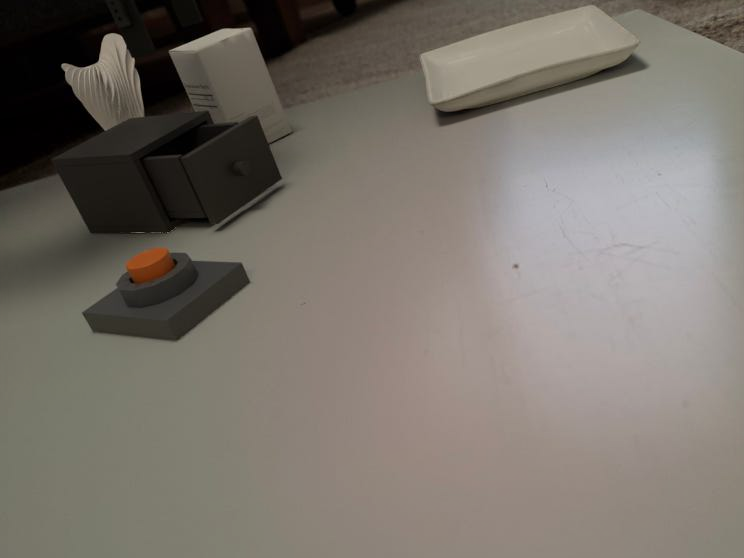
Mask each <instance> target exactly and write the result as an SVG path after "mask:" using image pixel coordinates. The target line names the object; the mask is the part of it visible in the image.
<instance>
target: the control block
mask: <svg viewBox="0 0 744 558" xmlns="http://www.w3.org/2000/svg"><path fill="white" fill-rule="evenodd" d="M169 253H170V255H171V257H172V259H173V261H174V263H175V268H174V269H172V270H171V271H170V272H168V273H167V274H166V275H164V276H161V277H159V278H157V279H155V280H152V281H149V282H145V283H141V284H136V283H134V282H133V280H132V278H131V276H130V274H129V273H128V271H127V270H126V272H124V273H122V274H121V276H120V277H119V278H118V280H117V281H116V283H115V285H116V288H114V289H113V290H112V291H111V292H108V294H106V295H104V297H102V298H101V299H99V300H97V301H96V302H95V303H93V304H92V305H91V306H89V307H88V308H86V309H84V310H83V311H82V312H81V314H82V316H83V317H84V319H85V321H86V323H87V324H88V326H89V328H90V330H91V332H92V333H101V334H111V335H120V336H121V335H122V336H130V337H138V338H139V337H140V338H147V339H148V338H149V339H158V340H167V341H179V340H180V339H181V338H182V337H183V336H185V335H186V334H187V333H189V332H190V331H191V330H192V329H194V328H195V327H196V326H197V325H199V324H200V323H201V322H202V321H203V320H205V319H206V318H208V317H209V315H211V314H212V313H213V312H215V311H216V310H217V309H218V308H220V307H221V306H222V305H224V304H225V303H226V302H228V301H229V300H230V299H231V298H233V296H234V295H236V294H237V293H238V292H240V291H241V290H243V288H245V287H246V286H247V285H248V284H250V283H251V280H250V278H249V276H248V274H247V271H246V269H245V267H244V265H243V262H242V261H241V262H237V261H215V260H213V261H212V260H211V261H210V260H208V261H207V260H192V258H191V257H190V256H189V255H188V254H187V253H186V252H169Z"/></svg>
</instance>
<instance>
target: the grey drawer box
mask: <svg viewBox="0 0 744 558" xmlns="http://www.w3.org/2000/svg"><path fill="white" fill-rule="evenodd" d="M206 124H214V122H213V120H212V118H211V115H210V113H209V111H198V112H195V111H190V112H180V113H179V112H178V113H170V114H169V113H168V114H157V115H150V116H149V115H148V116H147V115H146V116H145V117H137V118H129V119H127V120H125V121H124V122H122V123H120V124H118V125H116V126H114V127H112V128H110V129H108V130H106V131H105V130H104V131H102V132H101V133H99V134H97V135H95V136H93V137H91V138H89V139H87V140H85V141H83V142H81V143H79V144H78V145H76V146H74V147H72V148H70V149H68V150H66V151H64V152H62V153H60V154H59V155H57V156H55V157H53V158H51V159H50V162H51V163H52V165H53V167H54V169H55V171H56V173H57V174H58V176H59V178H60V180H61V182H62V183H63V185H64V187H65V189H66V191H67V192H68V194H69V197H70V198H71V201H73V203H74V205H75V207H76V209H77V211H78V213H79V215H80V216H81V218H82V220H83V222H84V223H85V225H86V227H87V229H88V231H89V233H90V234H115V233H114V232H161V233H160V234H168V233H167V232H170V231H171V230H173V229H174V228H175V227H177V226H179V225H180V226H182V225H183V224H185V223H186V222H188V221H190V220H191V219H192V218H168V217H167V215H166V213H165V211H164V209H163V206H162V204H161V202H160V200H159V198H158V196H157V194H156V192H155V190H154V188H153V186H152V184H151V182H150V180H149V178H148V176H147V174H146V172H145V170H144V167H143V165H142V163H141V161H140V158H141V157H143V156H145V155H147V154H148V153H150V152H152V151H154V150H155V149H157V148H159V147H161V146H162V145H164V144H166V143H168V142H169V141H171V140H173V139H175V138H176V137H178V136H180V135H182V134H183V133H185V132H187V131H189V130H190V129H192V128H194V127H196V126H198V125H206ZM187 220H188V221H187ZM184 222H185V223H184ZM182 223H183V224H182ZM181 224H182V225H181ZM180 226H179V227H180ZM177 228H178V227H177ZM174 230H175V229H174ZM174 230H173V231H174ZM109 232H110V233H109ZM162 232H163V233H162ZM165 232H166V233H165ZM171 232H172V231H171ZM171 232H170V233H171Z"/></svg>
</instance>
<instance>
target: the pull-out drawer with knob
mask: <svg viewBox="0 0 744 558" xmlns="http://www.w3.org/2000/svg"><path fill="white" fill-rule="evenodd" d="M140 161H141V163H142V165H143V167H144V170H145V172H146V174H147V176H148V178H149V180H150V182H151V184H152V186H153V188H154V190H155V192H156V194H157V196H158V198H159V200H160V202H161V204H162V206H163V209H164V211H165V213H166V215H167V217H168V218H191V219H206V218H207V219H208V221H209V223H210V225H219V224H221V223H222V222H224V220H226V219H227V218H229V217H230V216H231V215H233V214H234V213H236V212H237V211H238V210H240V209H242V208H243V207H245V206H246V205H247V204H249V203H250V202H251V201H253V200H254V199H256V198H257V197H259V196H260V195H262V194H263V193H264V192H266V191H267V190H268V189H270V188H272V187H273V186H274V185H276V184H277V183H278V182H280V181H281V180H283V177H282V174H281V172H280V169H279V167H278V164H277V162H276V159H275V156H274V154H273V152H272V149H271V147H270V143H269V144H268V141H267V139H266V136H265V134H264V131H263V129H262V126H261V124H260V121H259V119H258V116H250V117H248V118H246V119H245V120H243V121H241V122H240V123H238V122H229V123H218V124H206V125H198V126H196V127H194V128H192V129H190V130H189V131H187V132H185V133H183V134H182V135H180V136H178V137H176V138H175V139H173V140H171V141H169V142H168V143H166V144H164V145H162V146H161V147H159V148H157V149H155V150H154V151H152V152H150V153H148V154H147V155H145V156H143V157H141V158H140Z"/></svg>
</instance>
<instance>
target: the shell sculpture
mask: <svg viewBox="0 0 744 558" xmlns="http://www.w3.org/2000/svg"><path fill="white" fill-rule="evenodd" d="M98 58H99V59H98V61H97V62H95V63H93V64H91V65H88V66H85V67H78V66H75V65H73V64H69V63H62V64H61V69H62V70H63V71H64V72H65V74H64V77H65V81H66V83H67V84H68V85H69V86H71V89H72V91H73V94H74V96H75V97H76V98H77V99H78V100H79V101H80V102H81V104H82V106H83V107H84V108H85V109H86V111H87V113H88V114H90V115H91V117H92V118H93V119H94V120H95V121H96V123H97V124H99V126H100V127H101V128H102V129H103V130H104V131H106V130H108V129H110V128H112V127H114V126H116V125H118V124H120V123H122V122H124V121H125V120H127V119H129V118H137V117H146V116H145V107H144V101H143V95H142V90H141V79H140V75H139V72H138V69H137V68H136V67H135V64H136V60H135V58H132V57H131V55H130V52H129V50H128V48H127V46H126V44H125V42H124V40H123V37H122V35H121V34H118V33H115V32H111V33H107V34H105V35H104V36H103V38H102V41H101V46H100V52H99V57H98Z"/></svg>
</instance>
